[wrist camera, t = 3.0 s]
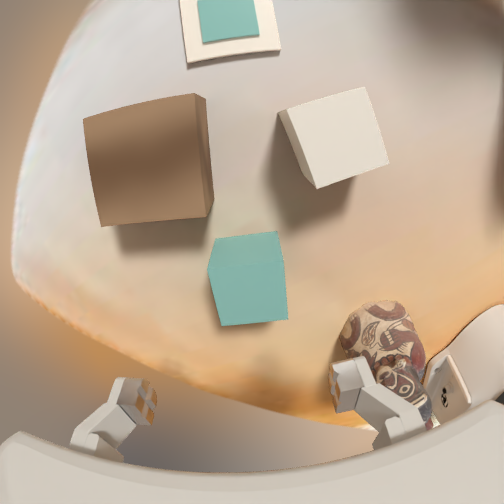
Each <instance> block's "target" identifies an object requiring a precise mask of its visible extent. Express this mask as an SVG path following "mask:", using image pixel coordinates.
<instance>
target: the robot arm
mask: <svg viewBox="0 0 504 504" xmlns="http://www.w3.org/2000/svg"><path fill="white" fill-rule="evenodd" d="M329 369H330V373H329V375H328V382H329V389H330V393H331V394H332V395H334V397H333V404H334V408H335V412H336V413H341V412H345V411H350V410H354V411H356V412H357V413H358V414H359V415H360V416H361V417H362V418H363V419H365V420H366V421H367V422H368V423H369V424H370V425H371V426H373V427H374V428H375V429H376V430H377V431H378V432H379V434H378V435H377V437H376V439H375V440H374V442H373V444H372V445H373V448H374V450H373V451H370V452H367V453H363V454H360V455H355V456H352V457H348V458H343V459H339V460H335V461H330V462H325V463H320V464H315V465H309V466H303V467H296V468H288V469H280V470H271V471H257V472H235V473H211V472H188V471H176V470H166V469H157V468H150V467H143V466H137V465H131V464H126V463H123V459H124V457H123V455H122V454H120V453H119V452H118V451H117V450H116V449H117V448H118V447H119V445H120V444H121V443H122V442H123V441H124V440H125V438H126V437H127V436H128V435H129V434H130V432H131V431H132V430H133V429H134V428H135V426H136V424H138V425H152V422H153V418H154V413H153V411H152V410H153V409H154V408H155V407H156V403H157V396H156V392H155V390H154V389H153V388H151V387H150V386H149V381H148V380H147V379H140V378H125V377H117V378H116V379H115V382H114V385H113V387H112V390H111V393H110V396H109V399H108V401H107V403H104V404H103V405H102V406H101V407H99V409H97V410H96V411H95V412H94V413H92V414H91V415H90V416H89V417H88V418H87V419H86V420H85V421H83V422H82V423H81V424H80V425H79V426H77V427H76V428H75V430H74V433H73V436H72V439H71V442H70V445H69V448H65V447H62V446H60V445H57V444H54V443H51V442H49V441H46V440H43V439H41V438H38V437H36V436H34V435H31V434H29V433H26V432H24V431H19V432H17V433H15V434H14V435H12V436H11V437H10V438H8V439H7V440H5V441H4V442H3V443H2V444H1V446H0V504H504V304H500V305H496V306H494V307H492V308H490V309H488V310H486V311H485V312H483V313H482V314H481V315H479V316H478V317H477V318H476V319H474V320H473V321H472V322H471V323H470V324H469V325H468V326H467V327H466V328H465V329H464V330H463V331H462V332H461V333H460V334H459V335H458V336H457V337H456V338H455V340H454V341H453V342H452V343H451V344H450V345H449V346H448V347H447V348H445V349H444V350H443V351H441V352H440V353H439V354H437V355H436V356H435V357H434V358H432V359H431V360H430V362H429V363H428V366H427V371H426V375H425V379H424V382H423V387H424V388H425V390H426V391H427V393H428V395H429V396H430V398H431V401H432V410H433V412H434V414H435V416H436V418H437V420H438V422H439V423H440V424H441V425H439V426H437V427H434V428H432V429H430V430H428V431H427V429H426V426H425V424H424V422H423V419H422V417H421V415H420V412H419V410H418V408H417V407H415V406H414V405H412V404H411V403H409V402H408V401H406V400H404V399H403V398H401V397H400V396H398V395H397V394H395V393H394V392H392V391H391V390H389V389H387V388H386V387H384V386H383V385H381V384H380V383H378V384H376V382H375V379H374V377H373V375H372V372H371V370H370V367H369V365H368V363H367V360H366V358H365V357H364V356H360V357H356V358H350V359H346V360H341V361H337V362H332V363H330V366H329Z"/></svg>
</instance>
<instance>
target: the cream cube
mask: <svg viewBox="0 0 504 504" xmlns="http://www.w3.org/2000/svg"><path fill="white" fill-rule="evenodd" d="M278 114H279V116H280V119H281V121H282V123H283V126H284V128H285V131H286V133H287V135H288V138H289V140H290V143H291V145H292V148H293V151H294V153H295V156H296V158H297V161H298V163H299V166H300V169H301V171H302V174H303V175H304V176H305V177H306V178H307V179H308V180H309V181H310V182H311V183H312V184H313V185H314V187H315V188H316V189H319V188H321V187H324V186H327V185H330V184H332V183H335V182H338V181H341V180H344V179H347V178H349V177H352V176H355V175H358V174H361V173H364V172H367V171H370V170H372V169H375V168H378V167H381V166H384V165H387V164H389V161H388V157H387V153H386V150H385V146H384V143H383V139H382V136H381V132H380V129H379V126H378V123H377V119H376V116H375V113H374V110H373V107H372V105H371V102H370V99H369V96H368V93H367V91H366V88H365V86H364V87H360V88H356V89H352V90H348V91H344V92H341V93H337V94H333V95H330V96H326V97H323V98H320V99H316V100H313V101H310V102H307V103H303V104H300V105H297V106H294V107H291V108H288V109H286V110H283V111H280V112H278Z"/></svg>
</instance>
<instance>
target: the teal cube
mask: <svg viewBox="0 0 504 504" xmlns="http://www.w3.org/2000/svg"><path fill="white" fill-rule="evenodd" d="M207 271H208V275H209V279H210V283H211V287H212V291H213V295H214V299H215V303H216V307H217V310H218V314H219V318H220V322H221V325H222V326H228V325H239V324H250V323H259V322H269V321H277V320H286V319H288V310H287V297H286V285H285V273H284V262H283V256H282V252H281V247H280V242H279V238H278V233H277V231H274V232H266V233H258V234H250V235H242V236H234V237H226V238H218V239H215V243H214V246H213V250H212V253H211V257H210V261H209V264H208V268H207Z"/></svg>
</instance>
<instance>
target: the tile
mask: <svg viewBox="0 0 504 504" xmlns="http://www.w3.org/2000/svg"><path fill="white" fill-rule="evenodd" d="M180 8H181V17H182V25H183V33H184V41H185V48H186V56H187V63H189V64H190V63H194V62H199V61H204V60H209V59H214V58H220V57H226V56H232V55H239V54H247V53H256V52H266V51H280V50H281V46H280V40H279V34H278V29H277V23H276V18H275V13H274V8H273V3H272V0H180Z"/></svg>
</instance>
